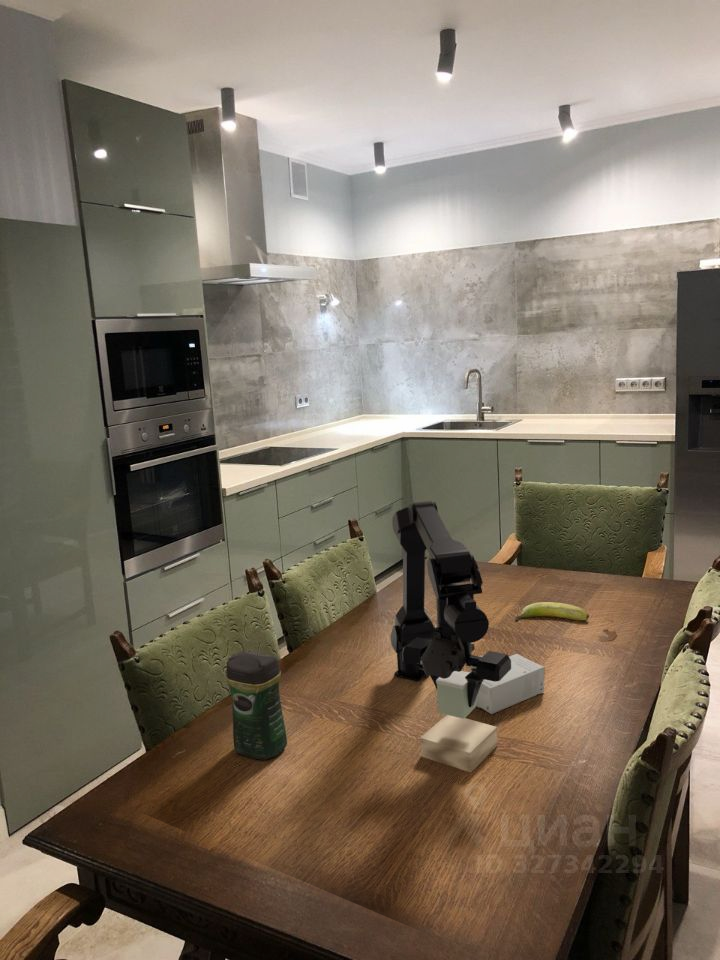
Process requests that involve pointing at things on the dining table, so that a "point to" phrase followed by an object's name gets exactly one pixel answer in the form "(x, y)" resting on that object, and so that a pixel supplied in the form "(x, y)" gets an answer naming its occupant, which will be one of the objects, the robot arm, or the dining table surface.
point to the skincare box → (512, 685)
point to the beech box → (459, 742)
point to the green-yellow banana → (561, 614)
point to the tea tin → (454, 695)
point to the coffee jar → (256, 705)
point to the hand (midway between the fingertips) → (457, 703)
